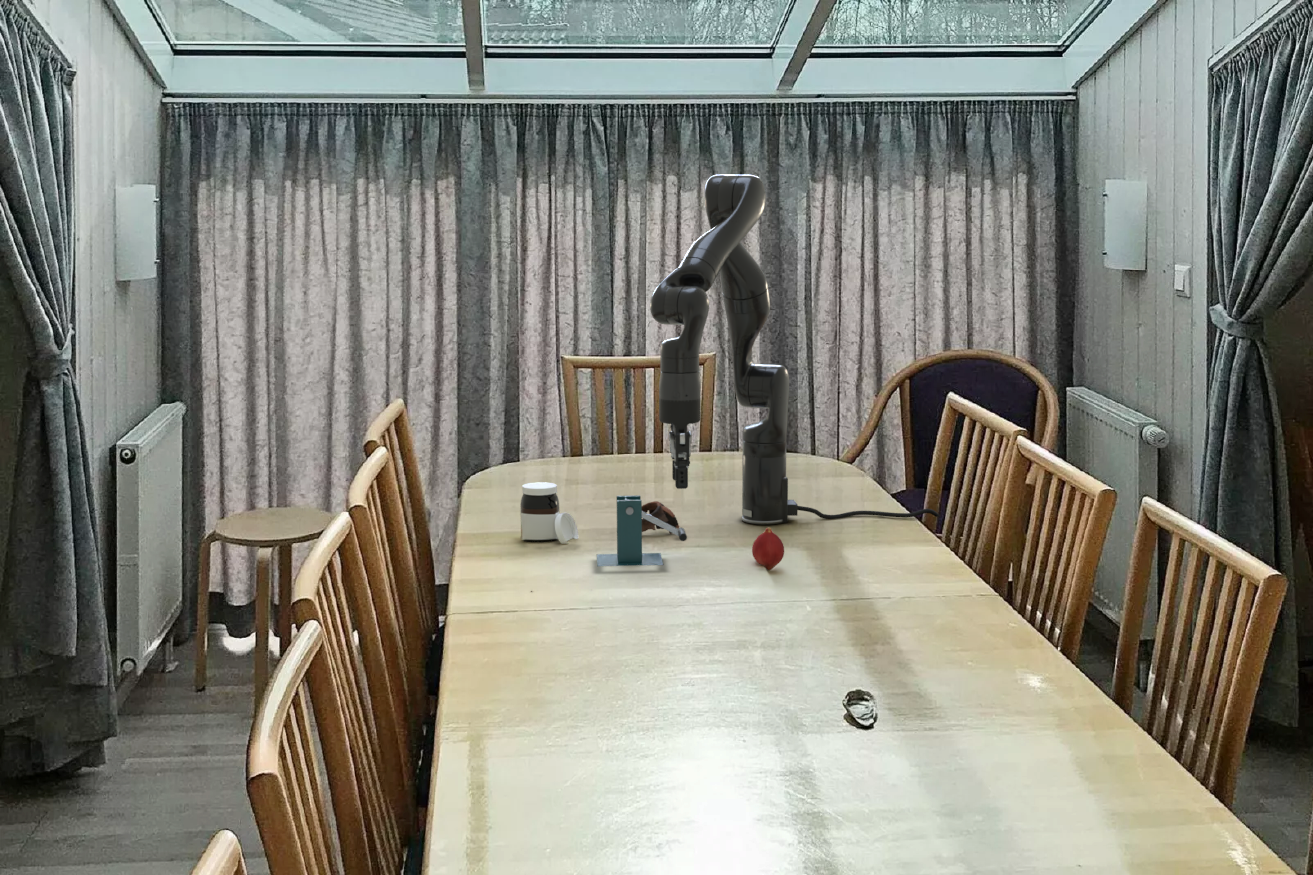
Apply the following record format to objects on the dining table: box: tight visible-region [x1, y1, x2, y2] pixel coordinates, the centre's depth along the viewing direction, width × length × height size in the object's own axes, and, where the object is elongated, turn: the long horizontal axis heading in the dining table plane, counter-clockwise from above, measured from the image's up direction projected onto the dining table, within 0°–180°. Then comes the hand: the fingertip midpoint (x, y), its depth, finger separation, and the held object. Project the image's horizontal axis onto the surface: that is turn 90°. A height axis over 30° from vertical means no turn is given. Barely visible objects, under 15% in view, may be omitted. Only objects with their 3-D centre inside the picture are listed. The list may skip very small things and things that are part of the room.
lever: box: [624, 498, 688, 542], centre depth 254 cm, size 13×5×2 cm, turn 93°
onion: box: [751, 527, 785, 571], centre depth 251 cm, size 6×6×8 cm
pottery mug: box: [642, 500, 680, 535], centre depth 279 cm, size 12×10×8 cm
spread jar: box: [519, 481, 579, 545], centre depth 272 cm, size 12×11×12 cm
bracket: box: [596, 494, 664, 567], centre depth 254 cm, size 12×9×13 cm
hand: (680, 484), depth 253 cm, fingers open, 8 cm apart
